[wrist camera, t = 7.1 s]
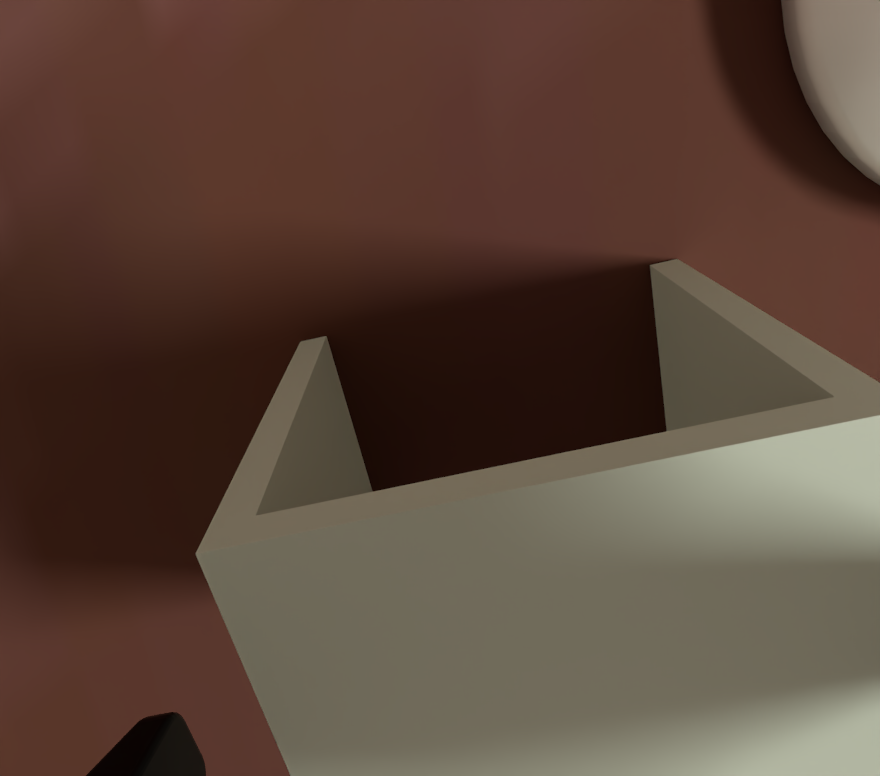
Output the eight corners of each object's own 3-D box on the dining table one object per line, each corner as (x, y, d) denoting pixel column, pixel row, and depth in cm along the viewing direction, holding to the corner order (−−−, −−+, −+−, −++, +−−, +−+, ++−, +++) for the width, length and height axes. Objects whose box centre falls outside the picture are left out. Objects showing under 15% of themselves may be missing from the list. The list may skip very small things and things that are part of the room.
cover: (699, 514, 14) (896, 806, 8) (374, 578, 15) (344, 901, 9) (677, 259, 12) (918, 407, 6) (300, 342, 13) (195, 554, 7)
